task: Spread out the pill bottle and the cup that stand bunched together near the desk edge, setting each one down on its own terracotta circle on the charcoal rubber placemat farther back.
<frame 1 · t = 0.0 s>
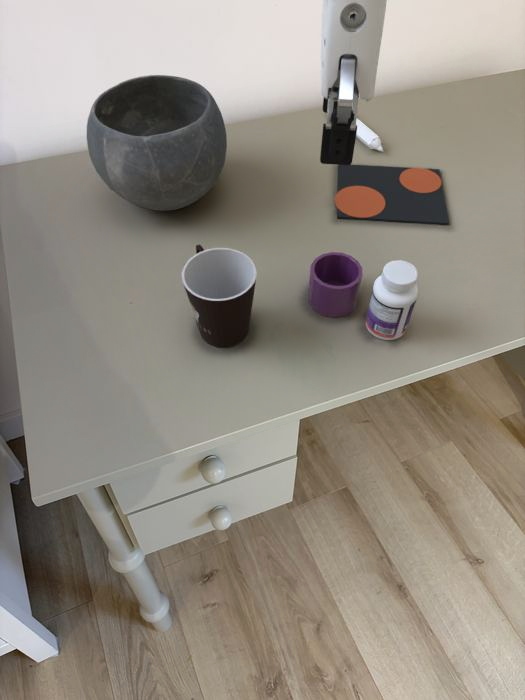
hand: (336, 136, 56), 22 cm above the table, tool pointing down, fingers open, 9 cm apart
cup: (332, 299, 72), on the table
pill bottle: (385, 326, 69), on the table
white pencil: (357, 135, 96), on the table
placemat: (390, 193, 86), on the table
coffee mug: (225, 320, 70), on the table
bowl: (168, 193, 86), on the table
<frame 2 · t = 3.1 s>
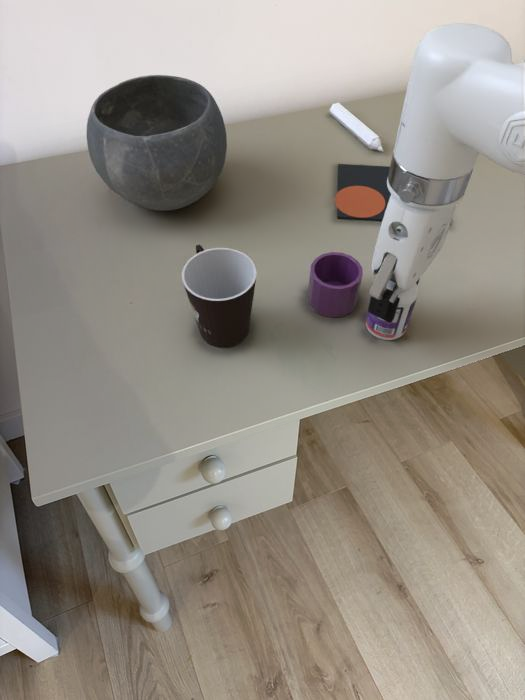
hand: (392, 299, 65), 5 cm above the table, tool pointing down, fingers closed on pill bottle, 5 cm apart
pill bottle: (385, 326, 69), on the table, touching gripper
everything else where it was.
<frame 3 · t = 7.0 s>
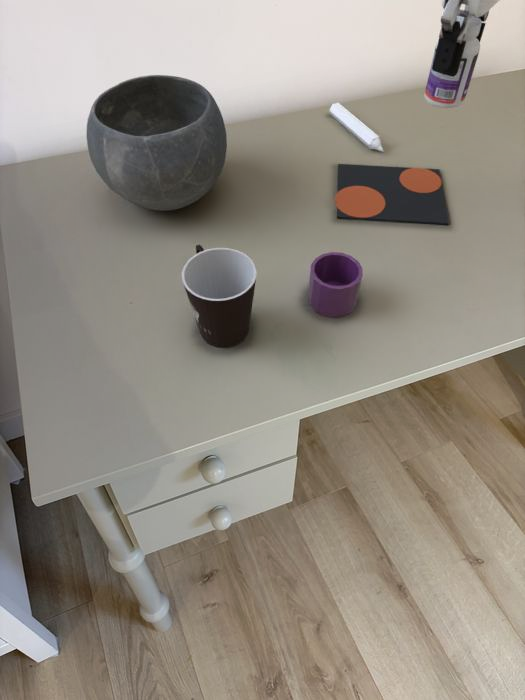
hand: (454, 61, 68), 21 cm above the table, tool pointing down, fingers closed on pill bottle, 5 cm apart
pill bottle: (443, 100, 72), point 16 cm above the table, touching gripper
everything else where it was.
when the fingers open (5 cm above the table, at t = 11.2 s): pill bottle stays where it is, resting on placemat.
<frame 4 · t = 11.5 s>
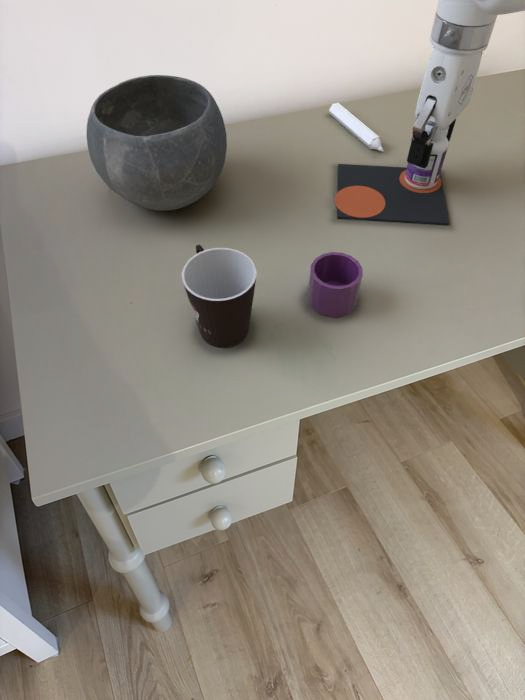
hand: (428, 151, 83), 6 cm above the table, tool pointing down, fingers open, 7 cm apart
pill bottle: (420, 181, 87), resting on placemat
everything else where it was.
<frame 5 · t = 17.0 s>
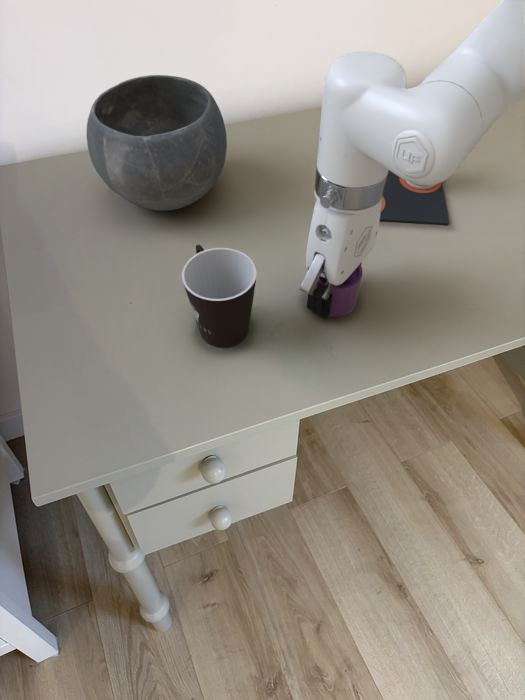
hand: (332, 294, 71), 1 cm above the table, tool pointing down, fingers closed on cup, 6 cm apart
cup: (332, 299, 72), on the table, touching gripper
everything else where it was.
when the fingers open (1 cm above the table, at t = 25.4 s): cup stays where it is, resting on placemat.
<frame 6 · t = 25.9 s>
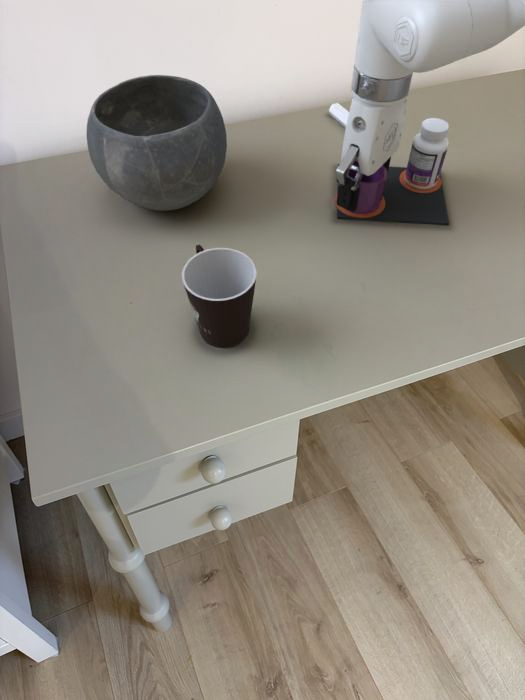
hand: (361, 191, 82), 2 cm above the table, tool pointing down, fingers open, 9 cm apart
cup: (359, 200, 84), resting on placemat
everything else where it was.
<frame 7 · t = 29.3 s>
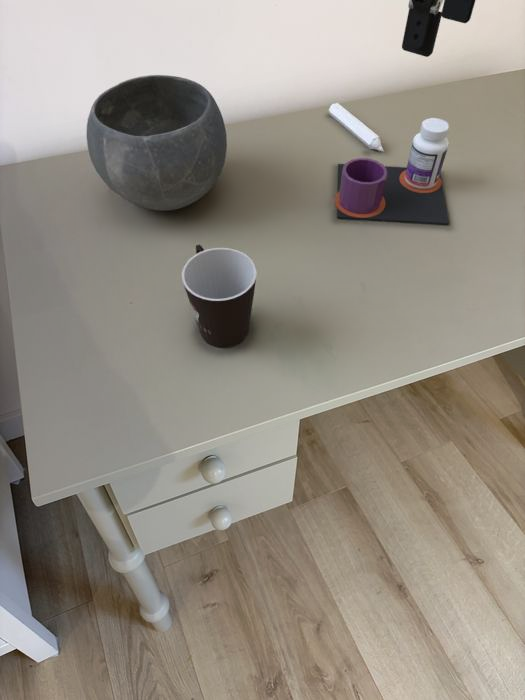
hand: (436, 35, 57), 28 cm above the table, tool pointing down, fingers open, 9 cm apart
nothing on the table moved.
at the end: pill bottle inside the target area on the placemat (0.4 cm from its centre), point 0.3 cm above the placemat's base; cup inside the target area on the placemat (0.5 cm from its centre), point 0.5 cm above the placemat's base; pill bottle tilted 0° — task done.
